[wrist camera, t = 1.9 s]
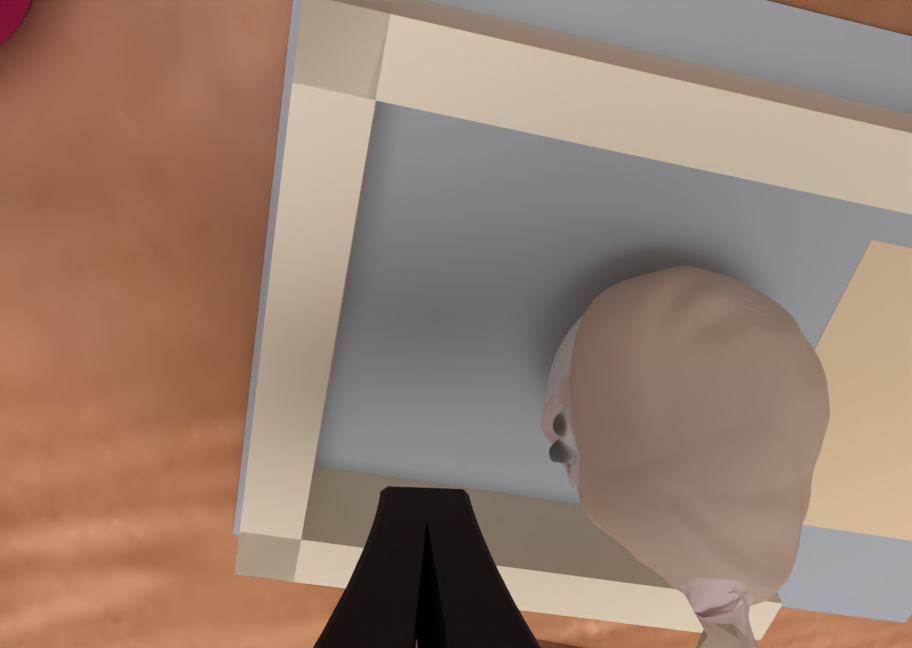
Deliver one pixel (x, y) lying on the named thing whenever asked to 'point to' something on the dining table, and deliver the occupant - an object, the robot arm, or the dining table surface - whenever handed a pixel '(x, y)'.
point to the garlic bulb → (692, 435)
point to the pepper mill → (11, 16)
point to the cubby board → (570, 271)
